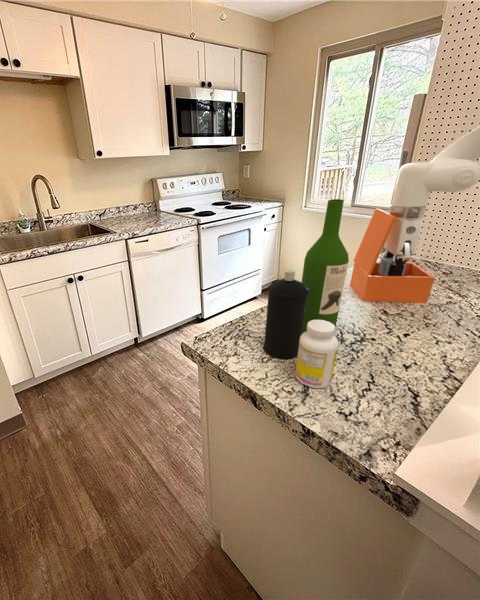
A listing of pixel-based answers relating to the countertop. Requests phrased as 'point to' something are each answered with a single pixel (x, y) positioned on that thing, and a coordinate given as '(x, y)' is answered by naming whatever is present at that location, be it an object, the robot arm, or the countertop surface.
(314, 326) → the supplement bottle
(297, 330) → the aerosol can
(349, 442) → the countertop surface
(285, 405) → the countertop surface
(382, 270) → the light blue cube
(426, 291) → the orange hinged box
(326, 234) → the wine bottle
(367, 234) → the orange box lid
